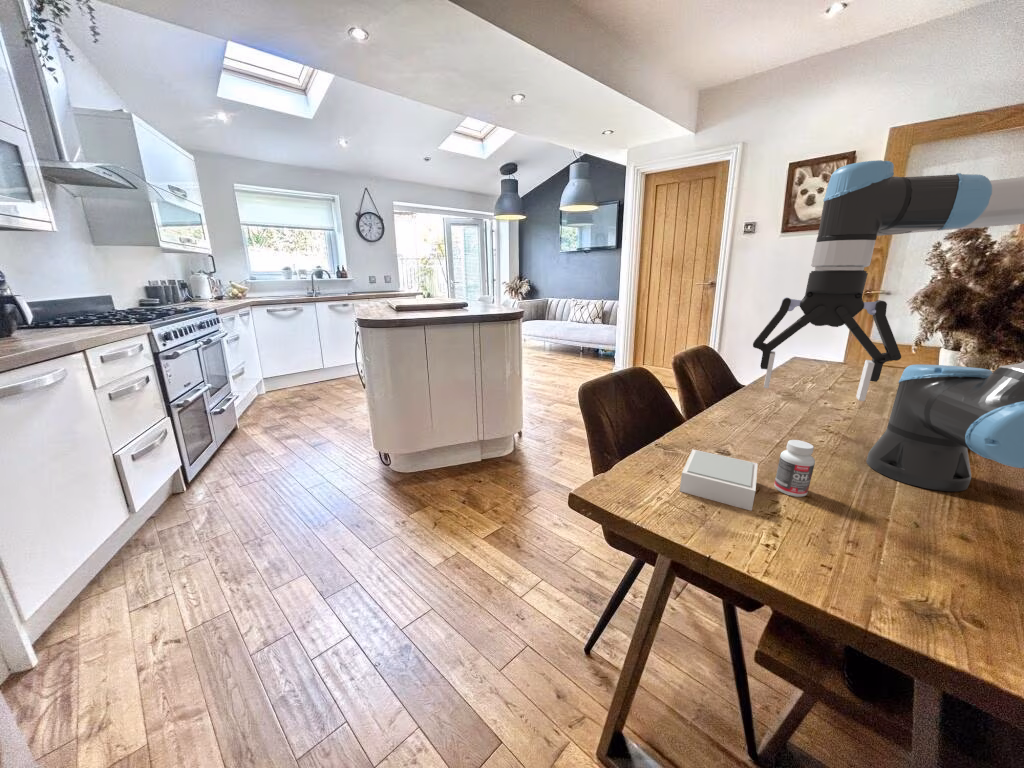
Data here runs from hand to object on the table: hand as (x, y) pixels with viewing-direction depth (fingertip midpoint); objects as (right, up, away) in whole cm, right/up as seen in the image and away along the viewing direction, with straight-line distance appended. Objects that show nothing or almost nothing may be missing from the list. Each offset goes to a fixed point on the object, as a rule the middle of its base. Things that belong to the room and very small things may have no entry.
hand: (810, 392), depth 70 cm
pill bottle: (0, -19, +5) cm, 20 cm away
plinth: (-13, -19, +7) cm, 24 cm away
